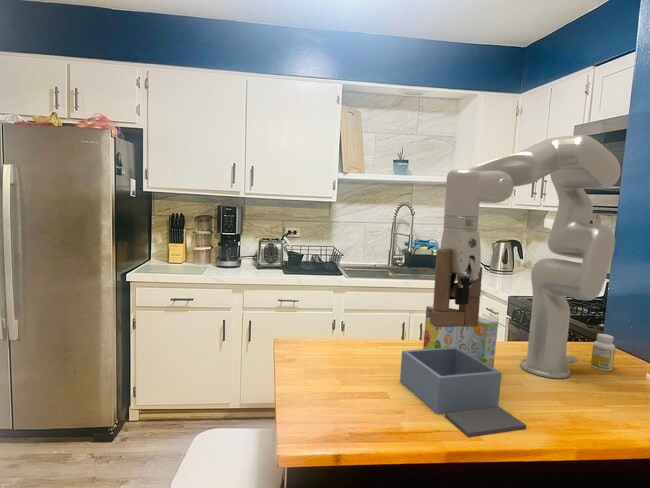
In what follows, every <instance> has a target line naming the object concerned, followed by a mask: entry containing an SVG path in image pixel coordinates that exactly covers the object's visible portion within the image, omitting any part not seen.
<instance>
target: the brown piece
mask: <svg viewBox="0 0 650 488" xmlns="http://www.w3.org/2000/svg"><path fill="white" fill-rule="evenodd" d="M435 255H436V256H435V258H436V259H435V274H434V288H433V289H434V290H433V309H431V310H430V323H431V324H432V325H433V326H435V327H463V326H464V327H476V326H478V318H479V315H480V304H481V303H480V302H481V294H482V293H481V291H482V281H483V280H482V279H483V277H482V276H483V267H482V266H480V272H479V274H478V276H479V278H478V279H477V280H475V281H474V282H473V283H472V284H471V287H470V288H469V299H468V304H465V305H458V308H453V307H450V296H452V297H455V294H456V287H458V281H457V282H455V283H456V284H455V285H454V286H453V287H452V288H451V289H450V284H451V275H452V273H451V263H452V251H451V250H448V249H440V248H438V249H437V250H436V254H435ZM465 278H466V276H463V280H464V279H465Z"/></svg>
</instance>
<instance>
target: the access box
mask: <svg viewBox="0 0 650 488" xmlns="http://www.w3.org/2000/svg"><path fill="white" fill-rule="evenodd" d="M400 362H401V364H400V378H399V382H400V383H401V384H402V385H403V386H405V387H406V388H407V389H408V390H410V392H411V393H413V394H414V396H416V397H417V398H418V399H419V400H420V401H421V402H422V403H423V404H425V405H426V406H427V407H428V408H430V409H431V410H432V411H433V412H434V413H435V414H436V415H438V414H439V415H440V414H445V413H452V412H460V411H468V410H477V409H485V408H493V407H499V403H500V391H501V384H502V383H501V380H502V372H501V371H499V370H497V369H496V368H493V367H491V366H489V365H487V364H485V363H484V362H482V361H480V360H478V359H477V358H475V357H473V356H471V355H470V354H468V353H466V352H464V351H463V350H461V349H459V348H457V347H451V348H436V349H423V348H422V349H410V350H409V349H408V350H407V349H406V350H402V351H401V361H400Z"/></svg>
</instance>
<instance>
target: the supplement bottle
mask: <svg viewBox="0 0 650 488" xmlns="http://www.w3.org/2000/svg"><path fill="white" fill-rule="evenodd" d="M591 352H592V353H591V360H590V366H591V367H592V368H593V369H596V370H598V371H603V372H611V371H613V368H614V360H615V353H616V346H615V344H614V336H612V335H611V334H606V333H597V335H596V340H595V341H594V342H593V344H592V351H591Z"/></svg>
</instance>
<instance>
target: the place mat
mask: <svg viewBox="0 0 650 488" xmlns="http://www.w3.org/2000/svg"><path fill="white" fill-rule="evenodd" d="M444 417H445V419H446V420H448V421H449V422H450V423H451V424H452V425H454V426H455V427H456V428H457V429H458V430H459V431H461V432H462V433H463V434H464V435H465V436H466V437H468V438H470V437H478V436H483V435H491V434H499V433H504V432H511V431H518V430H526V429H527V424H526V423H525V422H523V421H522V420H520V419H518V418H517V417H515V416H514V415H512V414H511V413H510V412H508V411H507V410H505V409H503V408H502V407H501V406H498V407H491V408H482V409H474V410H466V411H457V412H449V413H444Z"/></svg>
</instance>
